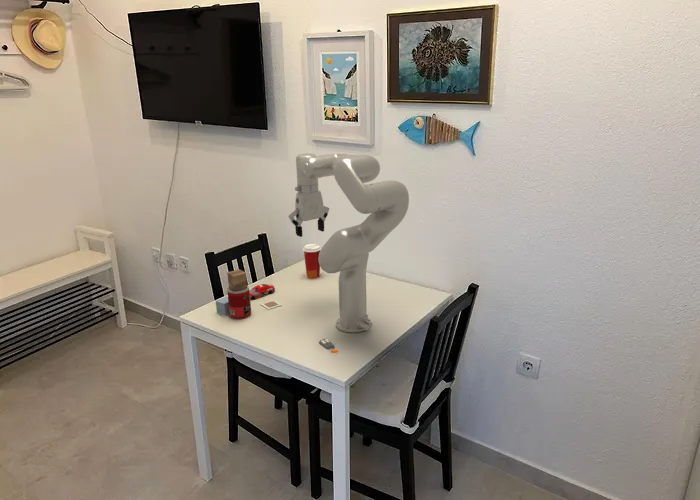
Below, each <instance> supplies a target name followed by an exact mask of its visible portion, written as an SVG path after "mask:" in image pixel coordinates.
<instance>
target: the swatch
mask: <svg viewBox="0 0 700 500" xmlns="http://www.w3.org/2000/svg"><path fill="white" fill-rule="evenodd" d="M260 306H262V307H263V308H265V309H266V310H272V309H276V308H279V307H282V303H280V302H279V301H276V300H275V299H272V300H270V301H267V302H263V303H261V304H260Z"/></svg>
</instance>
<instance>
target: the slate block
mask: <svg viewBox="0 0 700 500" xmlns="http://www.w3.org/2000/svg"><path fill="white" fill-rule="evenodd" d="M215 307H216V313H217V314H220V315H222V316H225V317H227V316H229V315H230V310H229V302H228V295H227V296H224V297H222V298H221V297H220V298H219V299H217V300H215Z"/></svg>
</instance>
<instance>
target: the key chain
mask: <svg viewBox="0 0 700 500" xmlns="http://www.w3.org/2000/svg"><path fill="white" fill-rule="evenodd" d="M318 344H319V345H320V346H322V347H323V348H325V349H326V350H330V351H331V352H330V353H331V354H334V355H335V356H337V355H338V353H339V350H338V349H335V344H333V342H331V341H330V340H329V339H328V338H323V339H321V340H318Z"/></svg>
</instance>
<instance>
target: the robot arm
mask: <svg viewBox="0 0 700 500" xmlns="http://www.w3.org/2000/svg"><path fill="white" fill-rule="evenodd" d="M295 157H296V158H295V165H296V166H295V167H296V182H297V184H296V185H297V186H296V187H294V190H295V191H296V193H295V204H294V206H295V207H294V210H293V212H291V213H290V214H289V215H288V216H287V217H288V218H289V220H290V222H291V223H292V224H293V226H295V235H296V236H297V237H299V238H302V237H303V226H302V224H303V222H308V221H312V220H317V231H319V232H325V222H326V218H327V217H328V214H329V211H330V207H328V206H325V205H324V201H323V195H322V192H321V190H319V179H320V178H323V177H325V178H326V177H330V176H334V180H335V181H336V184H337V185H338V186H339V188H340V190H341V191H342V193H343V194H344V196H346V198H347V199H348V201H349V203H350V204H351V205H352V207H353V208H354V209H355V210H356V211H357V212H358V213H360V214H365V215H368V214H369V215H368V216H367V217H366V219H364V220H363V221H362V222H361V223H359V224H357V225H353V226H348V227H345V228H341V229H339V230H338V231H336V232H334V233H333V234H332V235H331V236H330V237H329V238H328V240H326V241H325V243H324V244H323V246H322V247H320V248H321V250H320V252H319V257H318V260H319V265H320V270H322V271H323V272H324V273H327V274H336V273H339V276H338V302H339V304H338V305H339V306H338V307H339V317H338V318H337V319H336V321H335V327H336V328H337V329H338V330H340V331H341V332H344V333H361V332H364V331H368V330H369V329H370V328H371V327H372V326H373V323H372V320H371V318H369V315H368V314H367V313H368V310H367V309H368V308H367V268H368V261H369V257H370V255H369V253H371V252H373V251H374V250H375V249H376V248H377V247H378V246H379V245H380V244H381V243H382V242H383V241H384V240H385V239H386V238H387V237H388V236H389V234H391V233H392V232H393V231H394V230H395V229H396V228H397V227H398V226H399V225H400V223H402V221H403V220H404V218H405V216H406V215H407V212H408V210H409V204H410V194H409V190H408V188H407V187H406V185H405V184H404V183H402V182H401V181H397V180H384V181H383V180H382V181H380V182H373V183H370V182H372V181H374V180H376V178H377V177H378V176H379V174H380V171H381V165H380V162H379V161H378V160H377V159H376V158H375V157H373V156H371V155H369V154H347V153H330V154H329V153H327V154H321V155H316V154H314V153H300V154H298V155H296V156H295ZM366 183H368V184H366ZM295 217H296V218H295Z"/></svg>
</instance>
